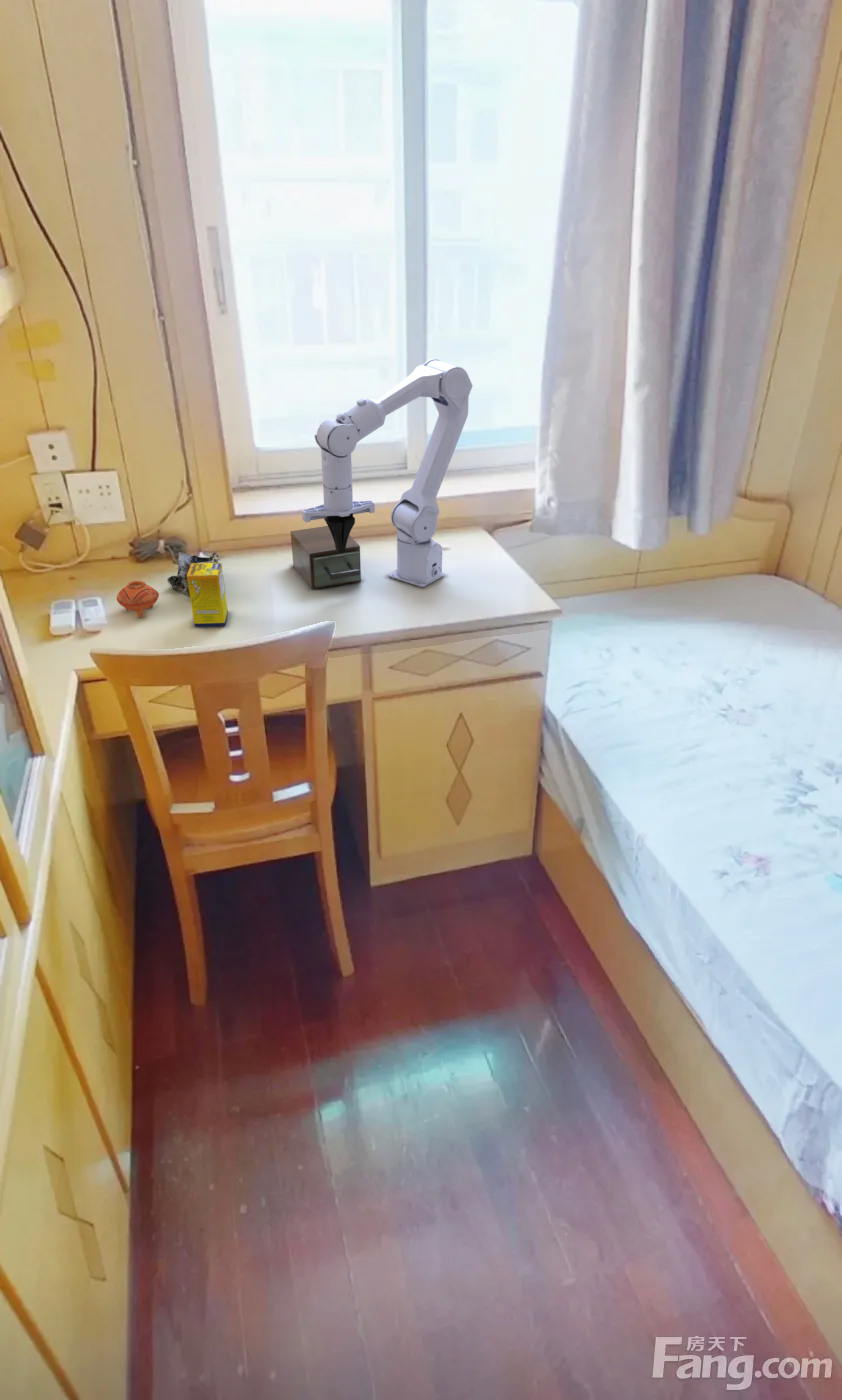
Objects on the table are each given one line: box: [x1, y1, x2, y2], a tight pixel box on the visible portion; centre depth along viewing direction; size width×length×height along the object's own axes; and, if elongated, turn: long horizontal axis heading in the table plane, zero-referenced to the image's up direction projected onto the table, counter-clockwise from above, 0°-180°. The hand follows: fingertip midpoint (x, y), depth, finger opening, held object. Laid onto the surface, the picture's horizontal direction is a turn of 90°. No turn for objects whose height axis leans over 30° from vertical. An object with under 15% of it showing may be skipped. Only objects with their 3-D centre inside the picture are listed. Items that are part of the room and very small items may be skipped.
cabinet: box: [290, 525, 362, 590], centre depth 180 cm, size 14×11×8 cm
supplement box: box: [187, 562, 229, 628], centre depth 160 cm, size 6×6×11 cm
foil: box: [167, 551, 223, 598], centre depth 173 cm, size 12×11×15 cm
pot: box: [116, 580, 160, 619], centre depth 164 cm, size 8×8×7 cm
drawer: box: [313, 550, 361, 587], centre depth 177 cm, size 18×10×6 cm, turn 24°
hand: (340, 550), depth 169 cm, fingers closed
